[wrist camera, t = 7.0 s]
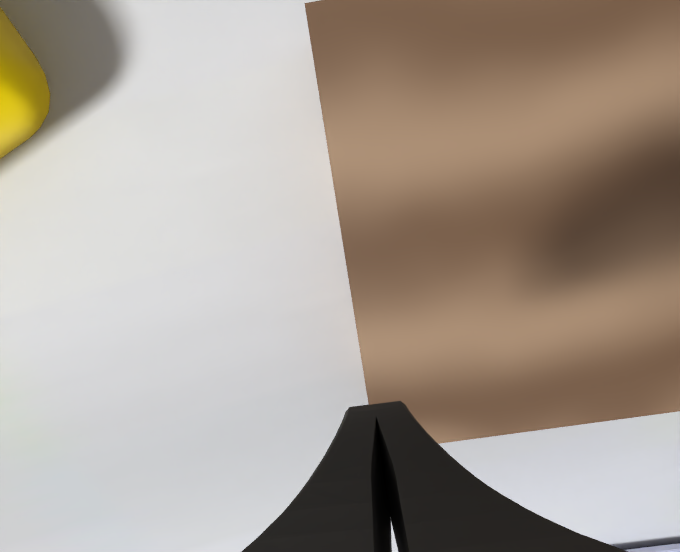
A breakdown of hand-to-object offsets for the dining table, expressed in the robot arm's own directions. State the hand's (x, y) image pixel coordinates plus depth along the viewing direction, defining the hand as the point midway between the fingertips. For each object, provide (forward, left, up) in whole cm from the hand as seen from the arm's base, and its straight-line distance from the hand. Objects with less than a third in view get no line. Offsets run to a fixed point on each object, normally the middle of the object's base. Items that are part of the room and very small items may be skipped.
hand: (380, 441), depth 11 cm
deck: (+3, -6, -10) cm, 12 cm away
